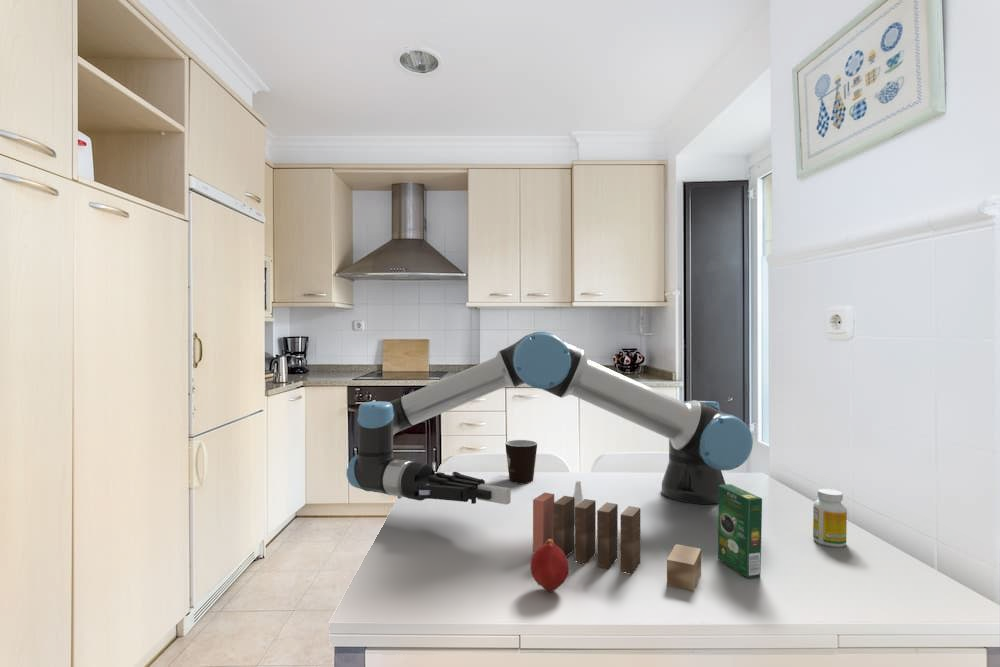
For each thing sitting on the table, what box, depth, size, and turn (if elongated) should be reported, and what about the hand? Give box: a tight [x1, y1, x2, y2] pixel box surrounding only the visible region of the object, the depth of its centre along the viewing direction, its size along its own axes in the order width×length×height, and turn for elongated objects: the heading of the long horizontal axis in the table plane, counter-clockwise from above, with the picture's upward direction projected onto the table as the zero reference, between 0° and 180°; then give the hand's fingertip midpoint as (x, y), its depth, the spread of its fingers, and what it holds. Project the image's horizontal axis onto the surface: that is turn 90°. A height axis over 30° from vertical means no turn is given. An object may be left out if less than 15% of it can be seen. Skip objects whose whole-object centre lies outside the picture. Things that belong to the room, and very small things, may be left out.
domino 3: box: [574, 498, 597, 565], centre depth 93 cm, size 2×5×10 cm, turn 151°
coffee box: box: [717, 483, 763, 579], centre depth 89 cm, size 8×3×13 cm, turn 13°
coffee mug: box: [505, 439, 538, 484], centre depth 145 cm, size 12×9×10 cm
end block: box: [666, 544, 702, 592], centre depth 85 cm, size 4×7×4 cm, turn 151°
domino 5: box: [619, 505, 641, 575], centre depth 90 cm, size 2×5×10 cm, turn 151°
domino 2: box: [553, 495, 575, 557], centre depth 95 cm, size 2×5×10 cm, turn 151°
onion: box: [530, 539, 570, 593], centre depth 81 cm, size 6×6×8 cm
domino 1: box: [532, 492, 555, 553], centre depth 97 cm, size 2×5×10 cm, turn 151°
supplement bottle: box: [812, 488, 848, 548], centre depth 101 cm, size 5×5×10 cm
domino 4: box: [596, 501, 619, 570], centre depth 91 cm, size 2×5×10 cm, turn 151°
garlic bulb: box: [572, 480, 585, 506], centre depth 115 cm, size 6×6×8 cm
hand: (508, 496), depth 101 cm, fingers closed
